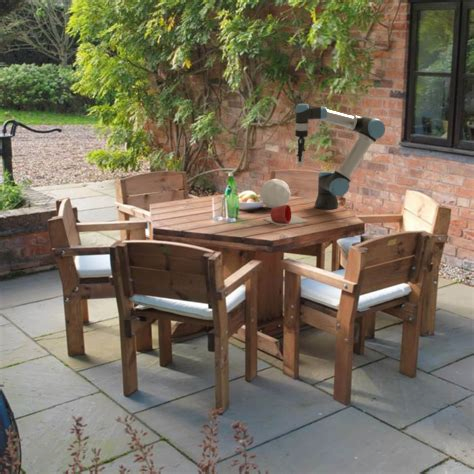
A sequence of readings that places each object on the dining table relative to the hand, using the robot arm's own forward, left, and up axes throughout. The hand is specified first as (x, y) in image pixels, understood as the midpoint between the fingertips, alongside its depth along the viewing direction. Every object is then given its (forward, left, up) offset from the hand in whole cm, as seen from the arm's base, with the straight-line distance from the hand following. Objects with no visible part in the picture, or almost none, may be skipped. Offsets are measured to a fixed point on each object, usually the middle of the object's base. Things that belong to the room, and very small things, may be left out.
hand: (300, 164), depth 448 cm
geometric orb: (+6, -18, -31) cm, 36 cm away
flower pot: (+28, +13, -26) cm, 41 cm away
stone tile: (+19, +14, -31) cm, 39 cm away
